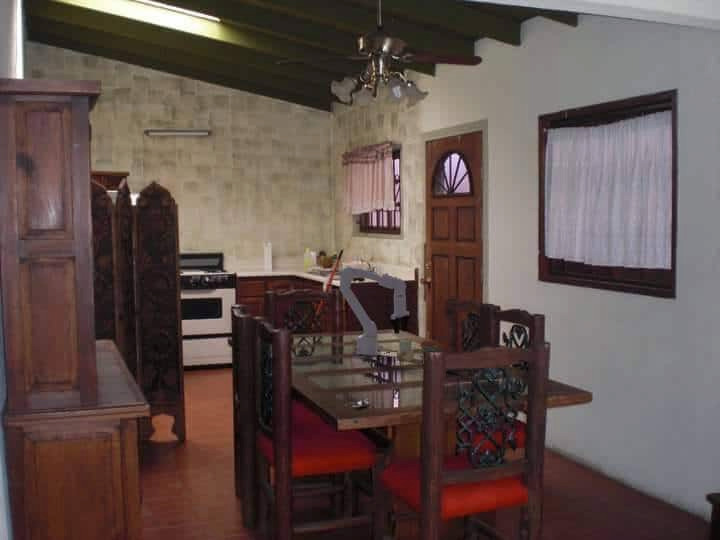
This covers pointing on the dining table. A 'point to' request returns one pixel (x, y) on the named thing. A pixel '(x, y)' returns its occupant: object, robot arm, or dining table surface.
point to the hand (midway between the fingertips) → (400, 332)
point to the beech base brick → (405, 356)
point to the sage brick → (405, 346)
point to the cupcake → (429, 344)
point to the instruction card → (388, 354)
